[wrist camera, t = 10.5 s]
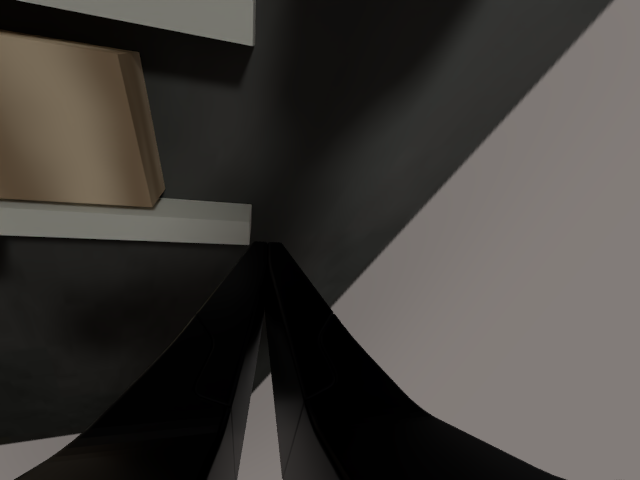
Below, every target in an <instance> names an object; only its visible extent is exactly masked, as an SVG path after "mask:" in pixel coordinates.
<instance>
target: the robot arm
mask: <svg viewBox="0 0 640 480" xmlns="http://www.w3.org/2000/svg"><path fill="white" fill-rule="evenodd" d="M264 310H265V318H266V328H267V337H268V347H269V356H270V366H271V375H272V385H273V395H274V404H275V413H276V423H277V432H278V442H279V452H280V462H281V471H282V478H283V480H566V479H563V478H560V477H557V476H554V475H552V474H550V473H547V472H545V471H543V470H541V469H538V468H536V467H534V466H532V465H530V464H528V463H526V462H524V461H522V460H520V459H518V458H516V457H514V456H512V455H510V454H508V453H506V452H504V451H502V450H500V449H498V448H496V447H494V446H492V445H490V444H488V443H486V442H484V441H482V440H480V439H478V438H476V437H474V436H472V435H470V434H467V433H466V432H464V431H462V430H459V429H458V428H456V427H454V426H452V425H450V424H447V423H445V422H444V421H442V420H439V419H438V418H435V417H434V416H432V415H431V414H429V413H428V412H426V411H425V410H423V409H422V408H420V407H419V406H418V405H417V404H416V403H415V402H414V401H412V400H411V399H410V398H409V397H408V396H407V395H406V394H405V393H404V392H403V391H402V390H401V389H400V388H399V387H398V386H397V385H396V383H395V382H394V381H393V380H392V379H391V378H390V377H389V376H388V375H387V374H386V373H385V372H384V371H383V370H382V369H381V367H380V366H379V365H378V364H377V363H376V362H375V361H374V360H373V359H372V358H371V357H370V356H369V355H368V354H367V353H366V351H365V350H364V349H363V348H362V347H361V346H360V345H359V344H358V343H357V341H356V340H355V339H354V338H353V337H352V336H351V334H350V333H349V332H348V331H347V329H346V328H345V327H344V326H343V325H342V323H341V322H340V320H339V319H338V318H337V316H336V315H335V314H333V311H332V310H331V308H330V307H329V306H328V304H327V303H326V302H325V300H324V299H323V298H322V296H321V295H320V294H319V292H318V291H317V290H316V288H315V287H314V286H313V284H312V283H311V282H310V280H309V279H308V278H307V276H306V275H305V274H304V272H303V271H302V270H301V268H300V267H299V266H298V264H297V263H296V262H295V260H294V259H293V258H292V256H291V255H290V254H289V252H288V251H287V250H286V248H285V247H284V246H283V244H282V243H280V242H269V243H268V245H267V242H257V241H256V242H253V243H252V244H251V246H250V247H249V248H248V249H247V251H246V252H245V253H244V254H243V256H242V257H241V258H240V259H239V261H238V262H237V263H236V264H235V266H234V267H233V268H232V269H231V271H230V272H229V273H228V274H227V276H226V277H225V278H224V279H223V281H222V282H221V283H220V284H219V286H218V287H217V288H216V289H215V291H214V292H213V293H212V294H211V296H210V297H209V298H208V299H207V301H206V302H205V303H204V304H203V306H202V307H201V308H200V309H199V311H198V312H197V313H196V316H194V317H193V318H192V319H191V320H190V322H189V323H188V324H187V325H186V327H185V328H184V329H183V330H182V331H181V333H180V334H179V335H178V336H177V337H176V338H175V340H174V341H173V342H172V343H171V344H170V345H169V346H168V348H167V349H166V350H165V351H164V352H163V353H162V354H161V355H160V356H159V357H158V358H157V359H156V360H155V361H154V362H153V363H152V364H151V365H150V366H149V367H148V368H147V369H146V370H145V371H144V372H143V373H142V374H141V375H140V376H139V377H138V378H137V379H136V380H135V381H134V382H133V383H132V384H131V385H130V386H129V387H128V388H127V389H126V390H125V391H124V392H123V393H122V394H121V395H120V396H119V397H118V398H117V399H116V400H115V401H114V402H113V403H112V404H111V405H110V406H109V407H108V408H107V409H106V410H105V411H104V412H103V413H102V414H101V415H100V416H99V417H98V418H97V419H96V420H95V421H94V422H93V423H92V424H91V425H90V426H89V427H88V428H87V429H86V430H85V431H84V432H82V433H81V434H80V435H79V436H78V437H77V438H76V439H74V440H73V441H72V442H71V443H69V444H68V445H67V446H65V447H64V448H63V449H62V450H60V451H59V452H57V453H56V454H55V455H53V456H52V457H50V458H49V459H47V460H46V461H44V462H43V463H41V464H39V465H38V466H36V467H34V468H33V469H31V470H29V471H28V472H26V473H24V474H23V475H21V476H20V477H18V478H16V479H14V480H237V476H238V470H239V464H240V458H241V452H242V446H243V440H244V434H245V428H246V422H247V415H248V409H249V403H250V397H251V391H252V385H253V379H254V373H255V367H256V361H257V355H258V349H259V343H260V337H261V330H262V324H263V318H264Z"/></svg>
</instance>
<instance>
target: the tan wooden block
mask: <svg viewBox="0 0 640 480" xmlns="http://www.w3.org/2000/svg"><path fill="white" fill-rule="evenodd" d="M164 190H165V185H164V180H163V175H162V170H161V165H160V159H159V154H158V149H157V144H156V138H155V133H154V128H153V123H152V117H151V112H150V107H149V102H148V96H147V91H146V86H145V81H144V75H143V70H142V65H141V60H140V55H139V52H135V51H129V50H123V49H117V48H111V47H105V46H99V45H93V44H87V43H81V42H75V41H69V40H63V39H57V38H51V37H45V36H39V35H33V34H27V33H21V32H14V31H8V30H2V29H0V198H4V199H21V200H38V201H55V202H73V203H90V204H107V205H124V206H141V207H153V206H154V204H155V203H156V201H157V200H158V199H159V197H160V196H161V194H162V193H163V191H164Z"/></svg>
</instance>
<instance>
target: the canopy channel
mask: <svg viewBox="0 0 640 480" xmlns="http://www.w3.org/2000/svg"><path fill="white" fill-rule="evenodd" d="M18 1H23V2H28V3H33V4H39V5H44V6H49V7H54V8H59V9H64V10H69V11H74V12H80V13H85V14H90V15H95V16H100V17H105V18H110V19H115V20H121V21H126V22H131V23H136V24H141V25H146V26H151V27H157V28H162V29H167V30H172V31H177V32H182V33H187V34H192V35H198V36H203V37H208V38H213V39H218V40H223V41H228V42H233V43H239V44H244V45H249V46H254V45H255V16H256V0H18ZM251 208H252V204H239V203H225V202H211V201H197V200H183V199H169V198H159V199H158V200H157V201H156V203H155V204H154V206H153V207H141V206H124V205H107V204H90V203H73V202H55V201H38V200H21V199H4V198H0V235H10V236H36V237H61V238H86V239H111V240H136V241H162V242H187V243H212V244H237V245H249V243H250V232H251Z"/></svg>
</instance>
